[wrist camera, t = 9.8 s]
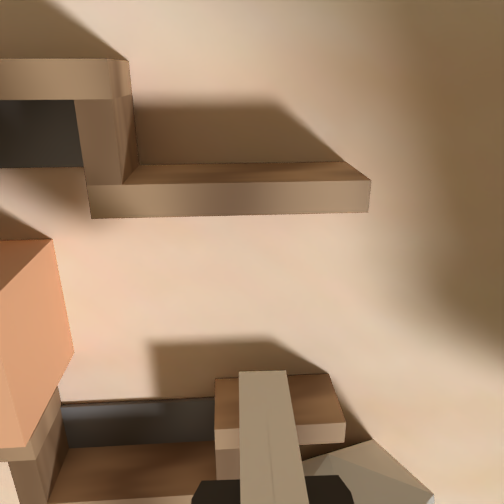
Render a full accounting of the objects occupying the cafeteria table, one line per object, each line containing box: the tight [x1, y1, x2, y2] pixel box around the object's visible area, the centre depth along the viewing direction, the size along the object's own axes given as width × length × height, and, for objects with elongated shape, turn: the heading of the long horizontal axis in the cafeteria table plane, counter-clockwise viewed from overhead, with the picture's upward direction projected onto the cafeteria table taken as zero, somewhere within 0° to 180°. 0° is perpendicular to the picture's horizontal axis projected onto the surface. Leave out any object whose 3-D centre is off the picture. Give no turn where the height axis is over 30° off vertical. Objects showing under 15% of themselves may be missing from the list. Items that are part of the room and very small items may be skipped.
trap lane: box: [0, 59, 371, 504], centre depth 18 cm, size 22×20×6 cm
